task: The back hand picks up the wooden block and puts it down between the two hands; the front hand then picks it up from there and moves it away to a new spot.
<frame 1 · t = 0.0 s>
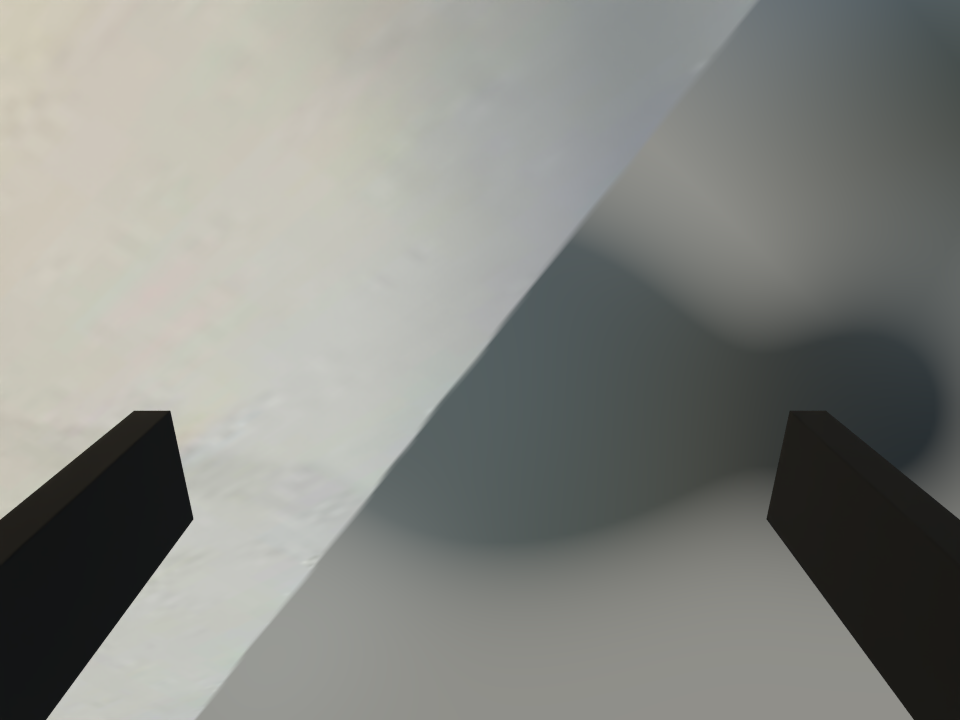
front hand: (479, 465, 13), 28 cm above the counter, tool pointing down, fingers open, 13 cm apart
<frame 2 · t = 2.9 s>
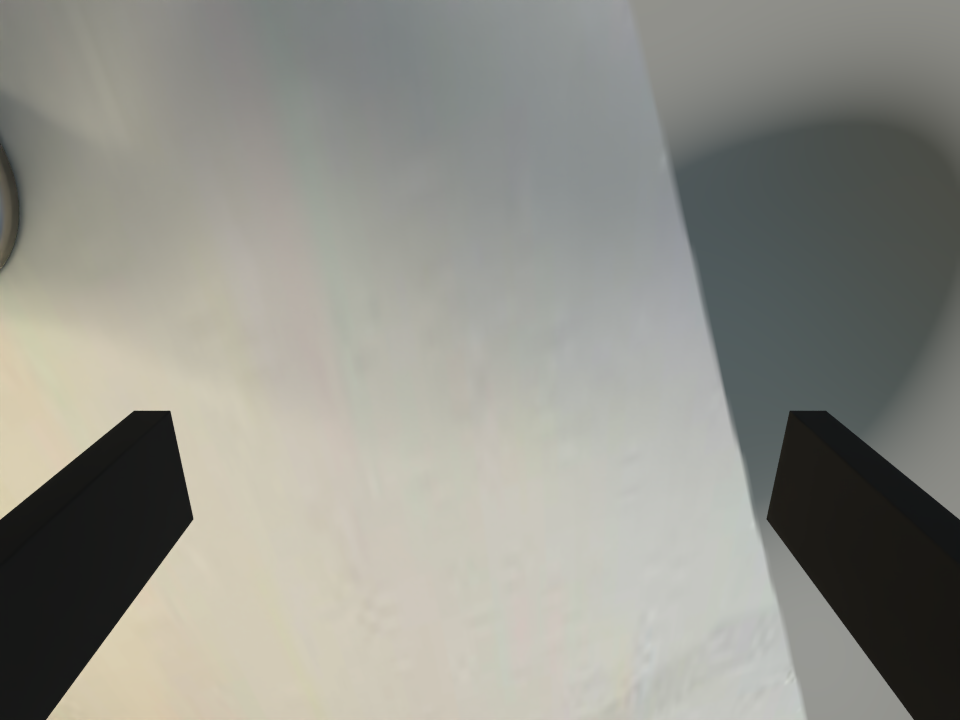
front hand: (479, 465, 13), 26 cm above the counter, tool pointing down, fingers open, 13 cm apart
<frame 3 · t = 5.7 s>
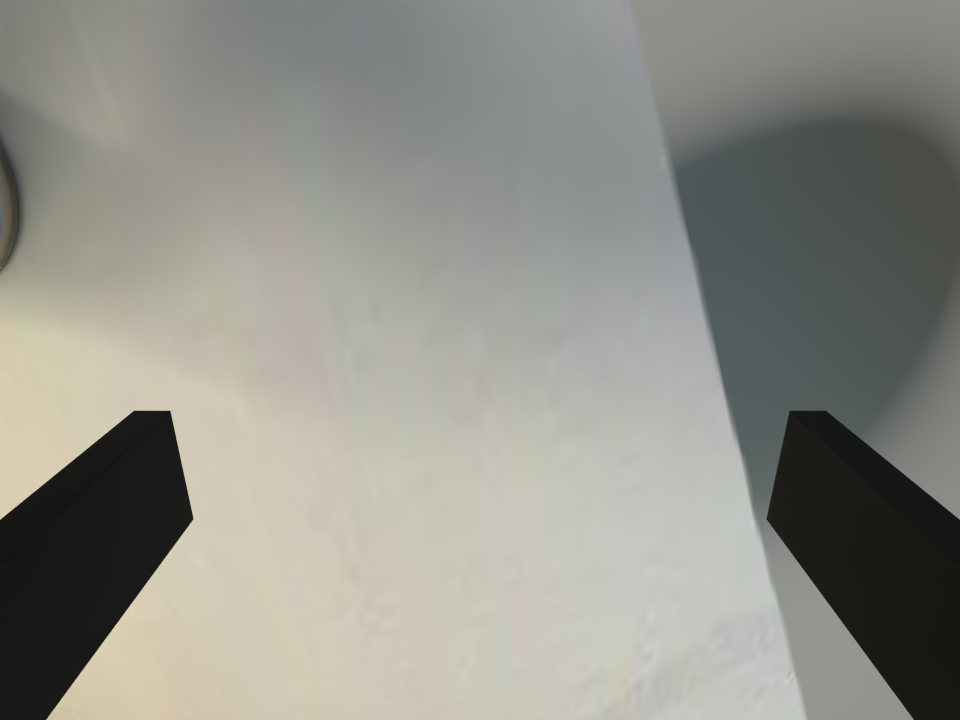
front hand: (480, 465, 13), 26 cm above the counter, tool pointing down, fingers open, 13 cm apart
when the back hand's fingers open (3 cm above the counter, at t = 8.4 s): block drops 2 cm, on the counter.
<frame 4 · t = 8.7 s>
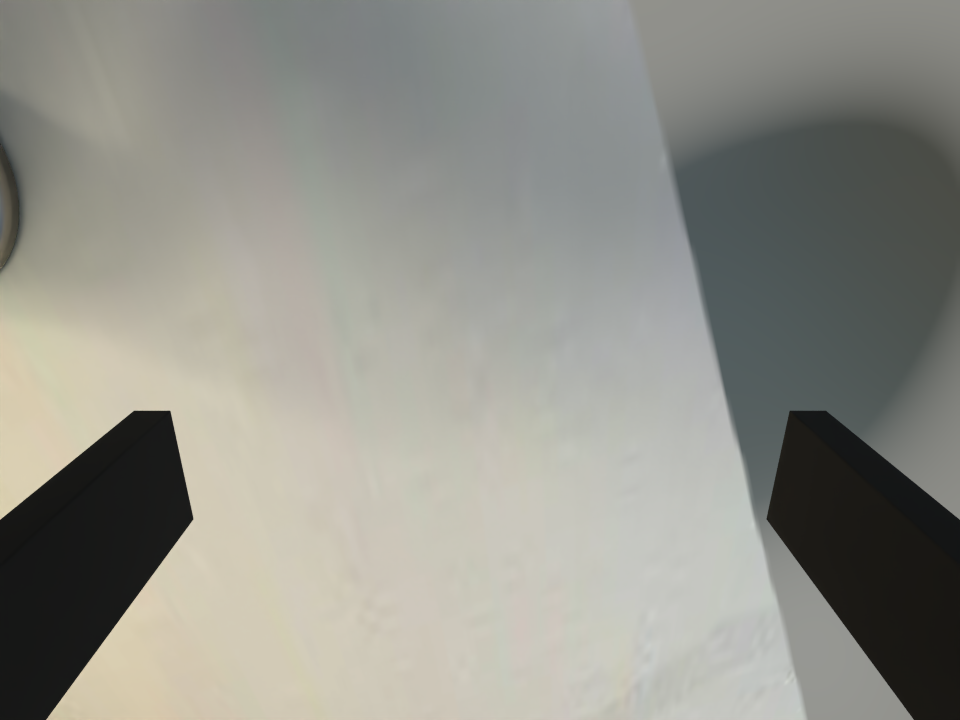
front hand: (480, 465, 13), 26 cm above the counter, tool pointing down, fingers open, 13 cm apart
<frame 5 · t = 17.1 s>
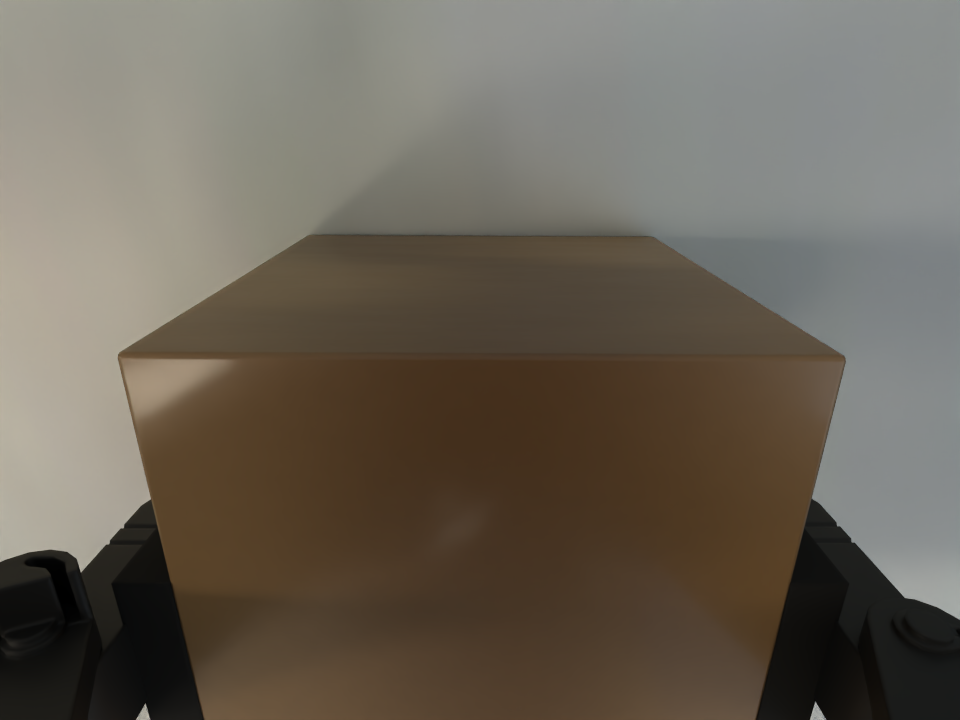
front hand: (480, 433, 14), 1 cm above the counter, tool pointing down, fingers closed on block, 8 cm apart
block: (480, 409, 15), on the counter, touching front hand
when the front hand's fingers open (3 cm above the counter, at t = 32.0 s): block drops 2 cm, on the counter.
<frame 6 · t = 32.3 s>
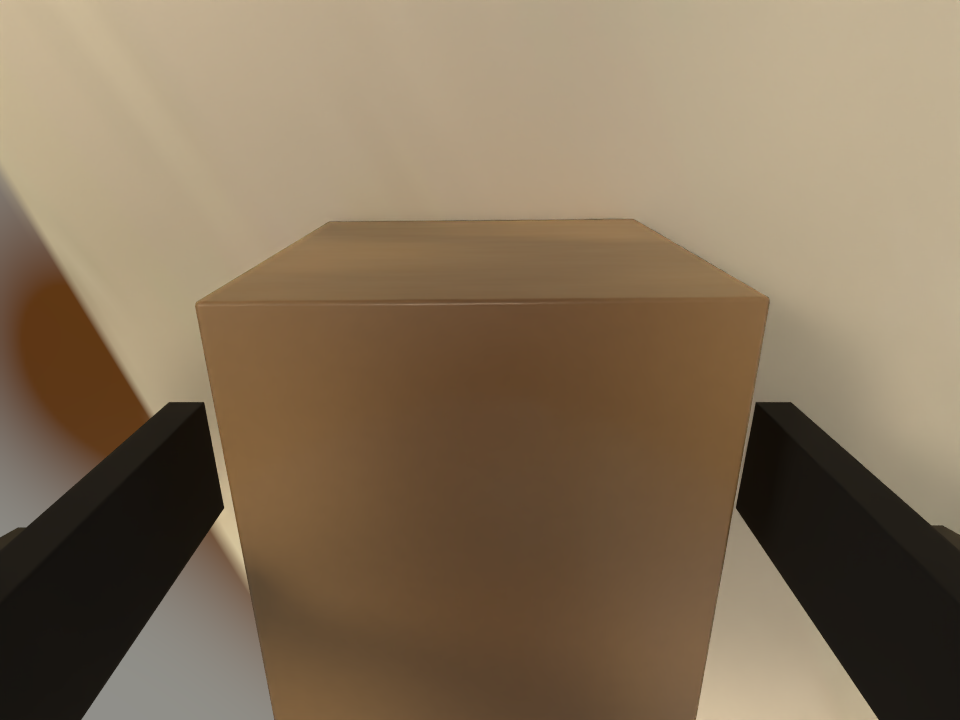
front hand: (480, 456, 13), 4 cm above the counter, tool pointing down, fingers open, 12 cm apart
block: (482, 378, 17), on the counter
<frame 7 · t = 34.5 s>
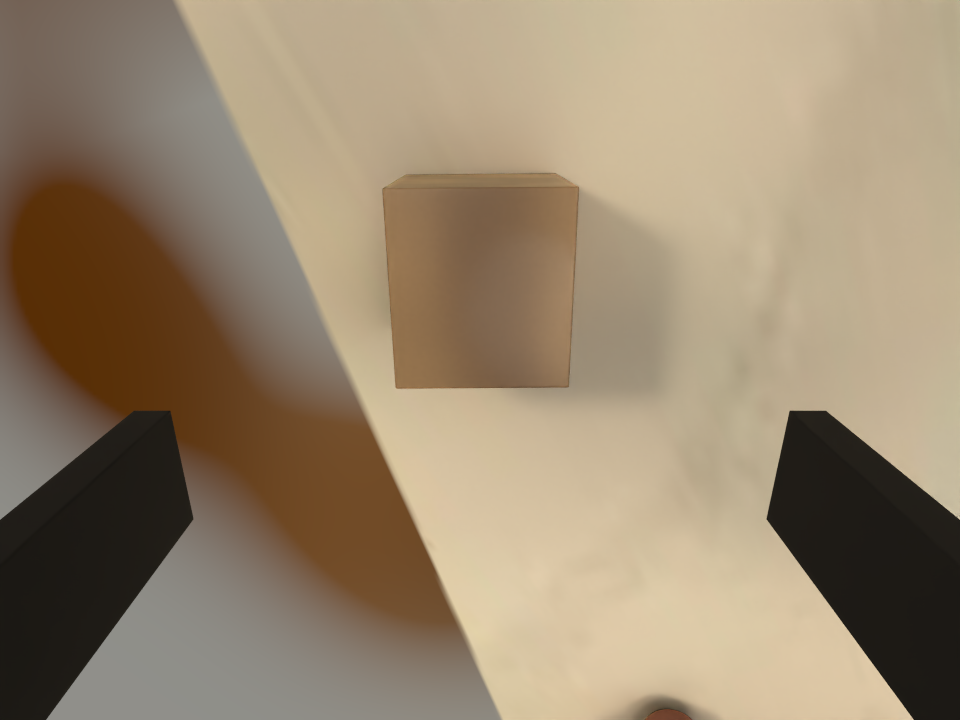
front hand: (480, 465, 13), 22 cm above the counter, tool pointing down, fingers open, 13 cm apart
block: (481, 258, 33), on the counter
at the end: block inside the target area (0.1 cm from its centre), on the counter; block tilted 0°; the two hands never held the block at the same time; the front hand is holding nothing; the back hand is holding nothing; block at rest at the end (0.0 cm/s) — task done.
